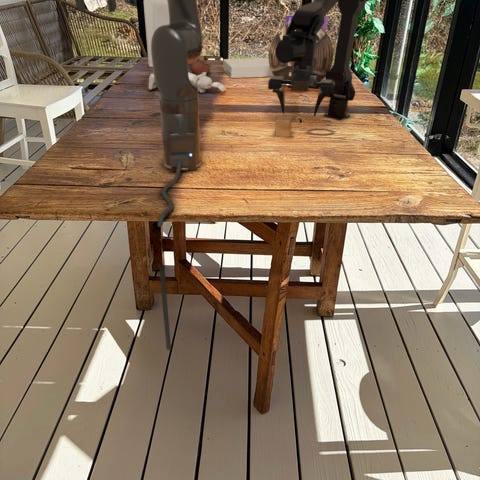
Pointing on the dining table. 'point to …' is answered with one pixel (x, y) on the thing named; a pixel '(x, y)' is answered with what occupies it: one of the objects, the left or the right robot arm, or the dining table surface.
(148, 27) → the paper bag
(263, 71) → the disc drive
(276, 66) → the sphere
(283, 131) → the brick
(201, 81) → the toy
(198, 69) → the anatomical model
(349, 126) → the dining table surface
